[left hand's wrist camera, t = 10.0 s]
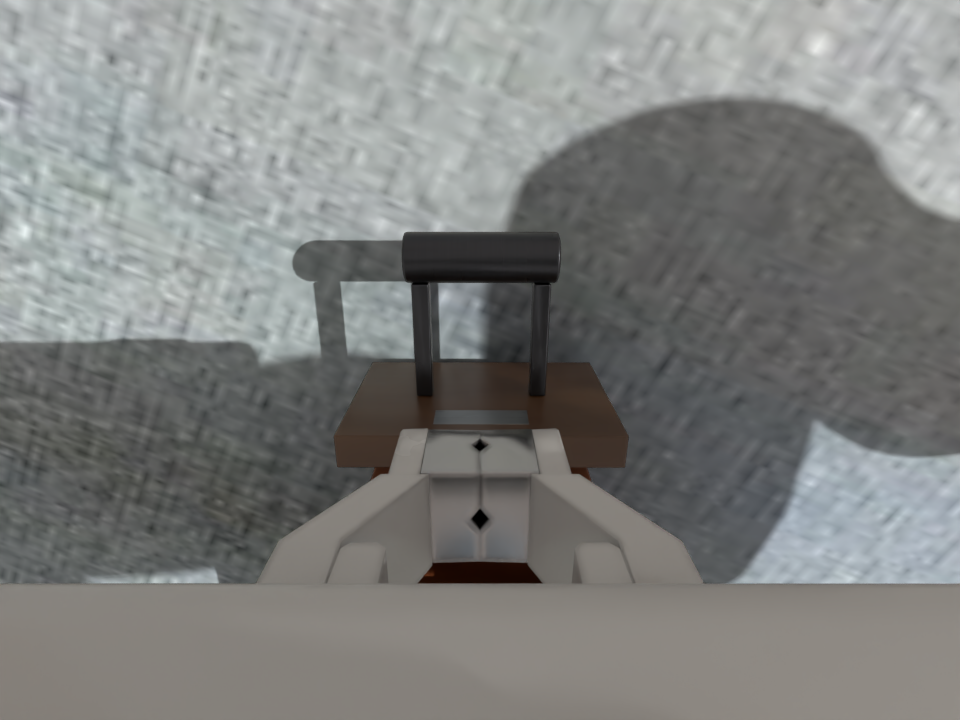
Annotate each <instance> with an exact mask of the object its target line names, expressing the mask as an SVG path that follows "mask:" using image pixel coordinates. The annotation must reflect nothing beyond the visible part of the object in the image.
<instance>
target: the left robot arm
mask: <svg viewBox="0 0 960 720" xmlns="http://www.w3.org/2000/svg"><path fill="white" fill-rule="evenodd" d="M478 561H480V562H517V563H528V566H529V567H530V568H531V570H532V571H533V572H534V573H535V574H536V576H537V577H538V578H539V579H540V581H541V582H542V583H543V584H417V583H418V582H419V581H420V580H421V579H422V577H423V576H424V575H425V574H426V573H427V571H428V570H429V569H430V568H431V566H432V563H443V562H478ZM0 720H960V584H704V582H703V580H702V578H701V576H700V574H699V573H698V571H697V569H696V567H695V565H694V563H693V561H692V559H691V557H690V555H689V553H688V552H687V550H686V548H685V546H684V544H683V542H682V541H681V540H680V539H678V538H676V537H675V536H673V535H672V534H670V533H669V532H667V531H666V530H664V529H663V528H661V527H660V526H658V525H657V524H655V523H653V522H652V521H650V520H649V519H647V518H646V517H644V516H643V515H641V514H640V513H638V512H637V511H635V510H634V509H632V508H630V507H629V506H627V505H626V504H624V503H623V502H621V501H620V500H618V499H617V498H615V497H614V496H612V495H611V494H609V493H607V492H606V491H604V490H603V489H601V488H600V487H598V486H597V485H595V484H594V483H592V482H591V481H589V480H587V479H586V478H584V477H583V476H581V475H580V474H572V473H571V470H570V466H569V463H568V460H567V456H566V453H565V450H564V446H563V443H562V440H561V436H560V433H559V430H558V429H556V428H552V429H506V430H455V429H429V430H428V428H424V429H403V430H402V431H401V432H400V436H399V439H398V442H397V446H396V449H395V453H394V456H393V460H392V463H391V466H390V470H389V473H388V474H380V475H379V476H377V477H376V478H374V479H372V480H371V481H369V482H368V483H366V484H365V485H363V486H362V487H360V488H359V489H357V490H356V491H354V492H352V493H351V494H349V495H348V496H346V497H345V498H343V499H342V500H340V501H339V502H337V503H335V504H334V505H332V506H331V507H329V508H328V509H326V510H325V511H323V512H322V513H320V514H319V515H317V516H315V517H314V518H312V519H311V520H309V521H308V522H306V523H305V524H303V525H302V526H300V527H299V528H297V529H295V530H294V531H292V532H291V533H289V534H288V535H286V536H285V537H283V538H282V539H280V540H279V541H278V543H277V545H276V546H275V548H274V550H273V552H272V554H271V556H270V558H269V560H268V561H267V563H266V565H265V567H264V569H263V571H262V573H261V575H260V576H259V578H258V580H257V582H256V583H49V584H0Z"/></svg>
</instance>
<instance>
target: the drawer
mask: <svg viewBox="0 0 960 720" xmlns="http://www.w3.org/2000/svg"><path fill="white" fill-rule="evenodd" d="M560 264H561V243H560V237H559V234H558V233H557V232H406V233H404V236H403V240H402V268H403V275H404V279H405V281H406V282H408V283H412V285H411V287H412V307H413V328H414V349H415V362H373V363H372V365H371V367H370V368H369V370H368V372H367V374H366V376H365V378H364V380H363V382H362V384H361V385H360V387H359V389H358V391H357V393H356V395H355V397H354V399H353V401H352V402H351V404H350V406H349V408H348V410H347V412H346V414H345V416H344V418H343V419H342V421H341V423H340V425H339V427H338V429H337V431H336V433H335V435H334V443H335V452H336V460H337V467H375V469H374V472H373V475H372V477H371V480H372V479H374V478H376V477H377V476H379V475H380V474H388V473H389V470H390V466H391V463H392V460H393V456H394V453H395V449H396V446H397V442H398V439H399V436H400V432H401V431H402V430H403V429H424V428H428V430H429V429H455V430H506V429H552V428H556V429H558V430H559V433H560V436H561V440H562V443H563V446H564V450H565V453H566V456H567V460H568V463H569V466H570V470H571V473H572V474H580V475H581V476H583V477H584V478H586V479H587V480H589V481H591V478H590V475H589V472H588V469H587V468H624V467H625V463H626V455H627V447H628V438H629V436H628V434H627V432H626V430H625V429H624V427H623V425H622V423H621V421H620V419H619V417H618V415H617V413H616V412H615V410H614V408H613V406H612V404H611V402H610V400H609V398H608V397H607V395H606V393H605V391H604V389H603V387H602V385H601V383H600V381H599V380H598V378H597V376H596V374H595V372H594V370H593V368H592V366H591V364H590V363H557V362H547V356H548V336H549V317H550V297H551V284H550V283H555V282H557V280H558V278H559V273H560ZM430 283H532V307H531V333H530V360H529V362H433V349H432V321H431V292H430ZM371 480H370V481H371ZM591 482H592V481H591ZM417 584H543V583H542V582H541V581H540V579H539V578H538V577H537V576H536V574H535V573H534V572H533V571H532V570H531V568H530V567H529V566H528V563H517V562H480V561H478V562H443V563H432V566H431V568H430V569H429V570H428V571H427V573H426V574H425V575H424V576H423V577H422V579H421V580H420V581H419V582H418V583H417Z"/></svg>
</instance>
